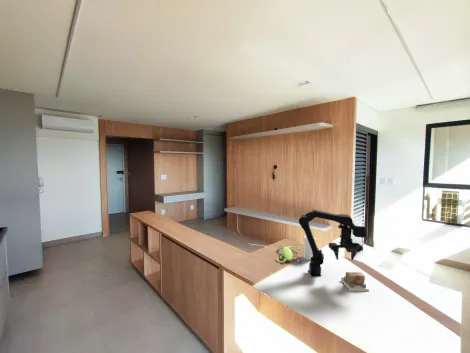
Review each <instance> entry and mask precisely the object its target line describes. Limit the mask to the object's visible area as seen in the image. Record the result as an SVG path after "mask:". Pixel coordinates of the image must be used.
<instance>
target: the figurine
mask: <svg viewBox="0 0 470 353" xmlns="http://www.w3.org/2000/svg"><path fill="white" fill-rule="evenodd" d="M291 248H294V249H296V250H297V251H300V250H301V249H302V246H299V245H298V244H295V246H294V245H289V246H284V245H283V244H281V245H279V246H278V248H277V250H282V251H281V252H282V254H281V255H280V256H279V257H276V262H277V263H279V264H283V263H285V262H286V261H292V259H293V257H294V258H295V257H296V259H295V262H297V263H301V262H302V258H301V257H300V256H298V255H295V254H293V252H292V250H291ZM283 257H284V258H283ZM279 258H280V259H281V260H279Z"/></svg>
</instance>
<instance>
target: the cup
mask: <svg viewBox="0 0 470 353" xmlns="http://www.w3.org/2000/svg"><path fill="white" fill-rule="evenodd" d="M313 237H314V240H315V242H316V240H317V239H316V237H315V236H314V235H313ZM316 243H317V242H316ZM302 256H303V259H304V260H307V261H310V258H311V257H313V253H312V249H311V247H310V244H309V241H308V239H307V236H306V235H304V236H303V255H302Z"/></svg>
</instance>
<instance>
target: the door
mask: <svg viewBox="0 0 470 353" xmlns="http://www.w3.org/2000/svg"><path fill="white" fill-rule="evenodd" d="M365 280H366V277H365V274H363V273H362V272H361V271H354V272H353V271H352V272H351V271H345V282H346V283H347V284H348V285H349V286H350V283H353V284H354V286H362V283H365Z"/></svg>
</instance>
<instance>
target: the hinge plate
mask: <svg viewBox="0 0 470 353" xmlns="http://www.w3.org/2000/svg"><path fill="white" fill-rule="evenodd" d="M345 276H346V275H345ZM345 276H341V278H340V281H341V282H342V284H343V283H344V284H343V285H344V286H345V287H346V289H347V290H348V291H350V292H369V291H370V288H369V287H368V286H367V284H366V283H365V282H364V283H362V286H354V284H353V283H350V286H349V285H348V284H347V283H346V282H345Z"/></svg>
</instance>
